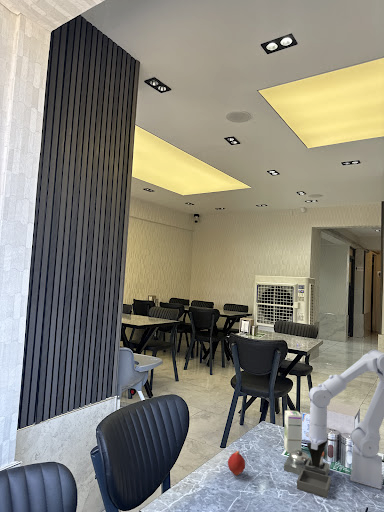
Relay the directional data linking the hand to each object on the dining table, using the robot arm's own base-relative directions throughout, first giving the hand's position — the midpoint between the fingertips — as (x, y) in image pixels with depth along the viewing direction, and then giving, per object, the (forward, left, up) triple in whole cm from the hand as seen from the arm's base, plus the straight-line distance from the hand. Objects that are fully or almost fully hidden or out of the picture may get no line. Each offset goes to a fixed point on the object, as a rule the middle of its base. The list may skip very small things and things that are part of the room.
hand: (316, 463), depth 125 cm
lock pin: (0, 0, -2) cm, 2 cm away
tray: (0, +9, -4) cm, 9 cm away
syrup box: (+12, -14, -4) cm, 19 cm away
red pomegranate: (+24, +17, -4) cm, 29 cm away
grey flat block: (+4, -1, -4) cm, 5 cm away
